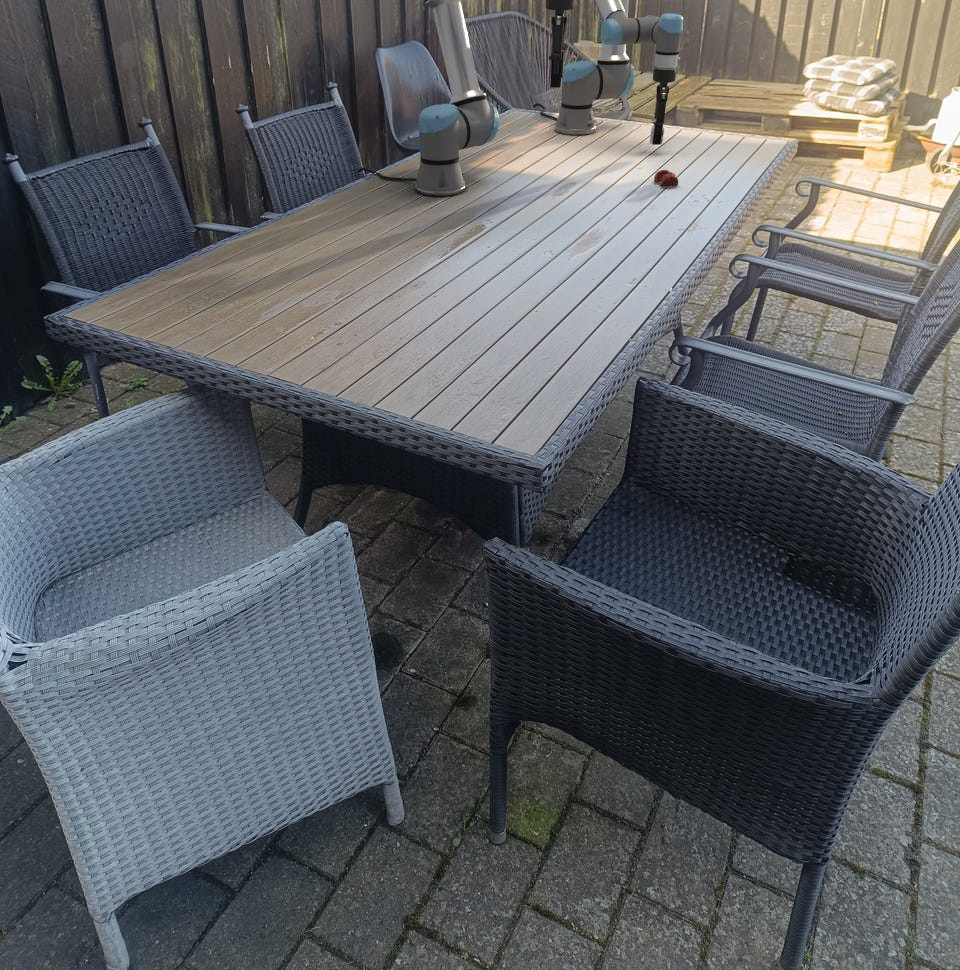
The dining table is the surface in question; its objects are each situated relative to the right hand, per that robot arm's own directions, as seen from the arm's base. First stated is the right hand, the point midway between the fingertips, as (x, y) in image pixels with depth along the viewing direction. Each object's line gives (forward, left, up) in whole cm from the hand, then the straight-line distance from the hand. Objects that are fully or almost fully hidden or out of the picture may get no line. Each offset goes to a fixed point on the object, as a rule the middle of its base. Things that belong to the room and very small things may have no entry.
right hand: (656, 141), depth 291 cm
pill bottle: (0, 0, -1) cm, 1 cm away
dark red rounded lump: (+37, -3, -4) cm, 38 cm away
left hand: (+58, -40, +29) cm, 76 cm away
